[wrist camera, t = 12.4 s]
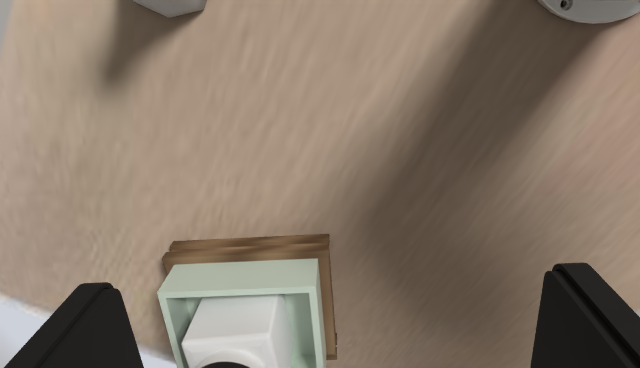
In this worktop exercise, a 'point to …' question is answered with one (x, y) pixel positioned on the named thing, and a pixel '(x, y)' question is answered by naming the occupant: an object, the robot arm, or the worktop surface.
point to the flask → (173, 6)
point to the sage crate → (249, 279)
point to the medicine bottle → (239, 333)
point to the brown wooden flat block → (265, 252)
